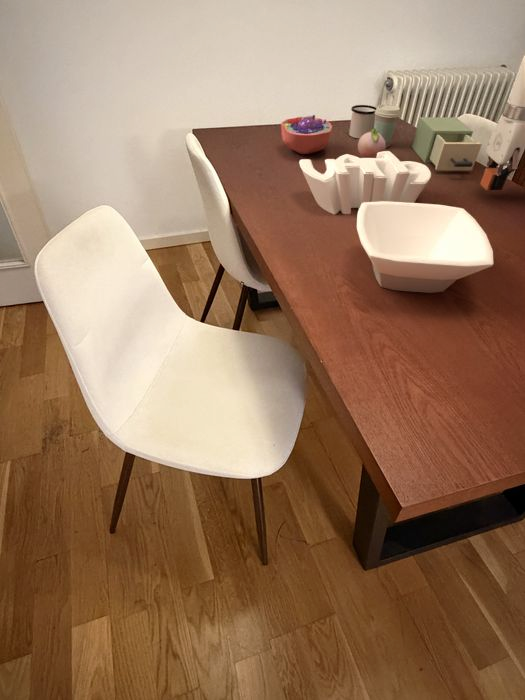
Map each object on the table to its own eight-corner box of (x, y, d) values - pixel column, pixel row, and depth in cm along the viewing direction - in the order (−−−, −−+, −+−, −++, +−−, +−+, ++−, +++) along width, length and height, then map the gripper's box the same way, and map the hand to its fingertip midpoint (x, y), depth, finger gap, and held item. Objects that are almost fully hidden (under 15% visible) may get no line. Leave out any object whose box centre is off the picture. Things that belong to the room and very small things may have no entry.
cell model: (329, 142, 144) (333, 107, 136) (328, 163, 130) (332, 124, 122) (282, 140, 146) (284, 104, 138) (276, 160, 132) (277, 121, 124)
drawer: (478, 176, 122) (488, 149, 116) (441, 176, 121) (450, 149, 116) (456, 155, 135) (464, 129, 129) (422, 154, 134) (429, 129, 129)
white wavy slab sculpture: (300, 214, 105) (304, 173, 97) (295, 188, 116) (298, 149, 109) (433, 215, 105) (446, 174, 98) (415, 188, 117) (426, 150, 110)
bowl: (346, 240, 95) (353, 198, 88) (454, 247, 94) (471, 205, 87) (350, 303, 78) (360, 257, 71) (483, 313, 77) (506, 267, 69)
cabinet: (462, 162, 132) (473, 131, 125) (424, 162, 132) (433, 130, 125) (446, 147, 142) (456, 117, 136) (411, 147, 142) (419, 117, 135)
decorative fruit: (352, 156, 135) (358, 124, 128) (376, 156, 135) (383, 124, 128) (358, 167, 128) (364, 133, 121) (383, 167, 128) (391, 133, 121)
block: (495, 183, 114) (501, 167, 110) (502, 190, 110) (508, 174, 107) (479, 184, 114) (485, 168, 110) (486, 190, 110) (492, 174, 107)
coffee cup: (378, 139, 147) (386, 102, 139) (397, 146, 143) (406, 108, 134) (363, 144, 143) (370, 106, 135) (382, 151, 139) (390, 112, 130)
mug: (371, 140, 147) (377, 113, 140) (346, 138, 148) (350, 110, 142) (373, 130, 155) (378, 104, 148) (349, 128, 156) (353, 102, 150)
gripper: (490, 103, 105) (466, 174, 118) (521, 123, 93) (490, 199, 106) (519, 102, 105) (491, 173, 118) (553, 122, 93) (519, 198, 106)
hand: (491, 185), depth 112 cm, fingers closed on block, 4 cm apart
